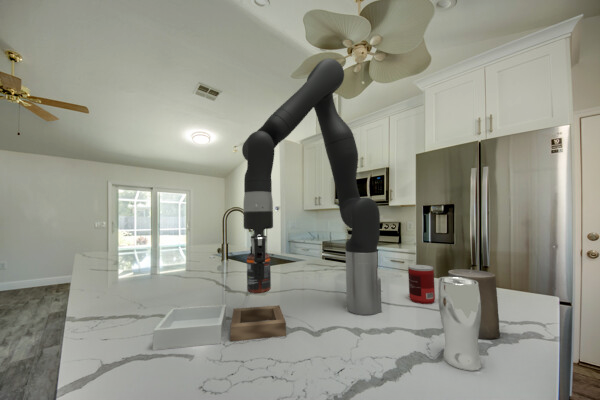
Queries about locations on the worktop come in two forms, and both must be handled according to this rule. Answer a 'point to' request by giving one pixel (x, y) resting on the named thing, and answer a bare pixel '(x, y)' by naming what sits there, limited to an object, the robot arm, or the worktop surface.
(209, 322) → the grey tray
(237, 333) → the walnut collar
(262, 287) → the supplement bottle
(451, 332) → the beer glass
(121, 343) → the worktop surface
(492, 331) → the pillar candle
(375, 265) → the robot arm
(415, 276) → the canned food
